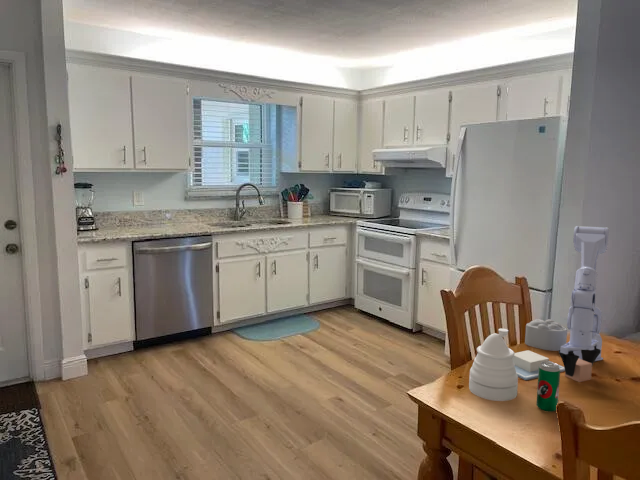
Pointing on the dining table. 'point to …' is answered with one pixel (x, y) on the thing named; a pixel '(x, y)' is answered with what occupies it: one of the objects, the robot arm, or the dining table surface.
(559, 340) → the lumpy-topped squat cylinder
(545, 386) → the soda can
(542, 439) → the dining table surface
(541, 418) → the dining table surface
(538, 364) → the butter dish
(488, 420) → the dining table surface
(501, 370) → the honey pot
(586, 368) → the terracotta block
